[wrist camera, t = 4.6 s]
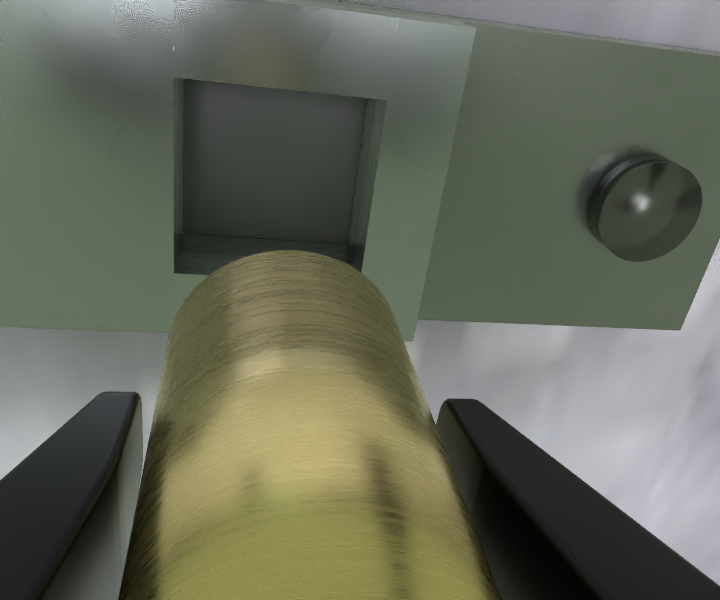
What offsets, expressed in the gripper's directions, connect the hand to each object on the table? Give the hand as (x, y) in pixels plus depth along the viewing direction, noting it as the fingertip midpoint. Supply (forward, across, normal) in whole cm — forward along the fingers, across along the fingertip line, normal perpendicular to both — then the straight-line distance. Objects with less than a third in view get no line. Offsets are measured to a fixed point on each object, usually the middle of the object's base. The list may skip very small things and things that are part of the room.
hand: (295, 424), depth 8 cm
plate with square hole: (+11, 0, 0) cm, 11 cm away
